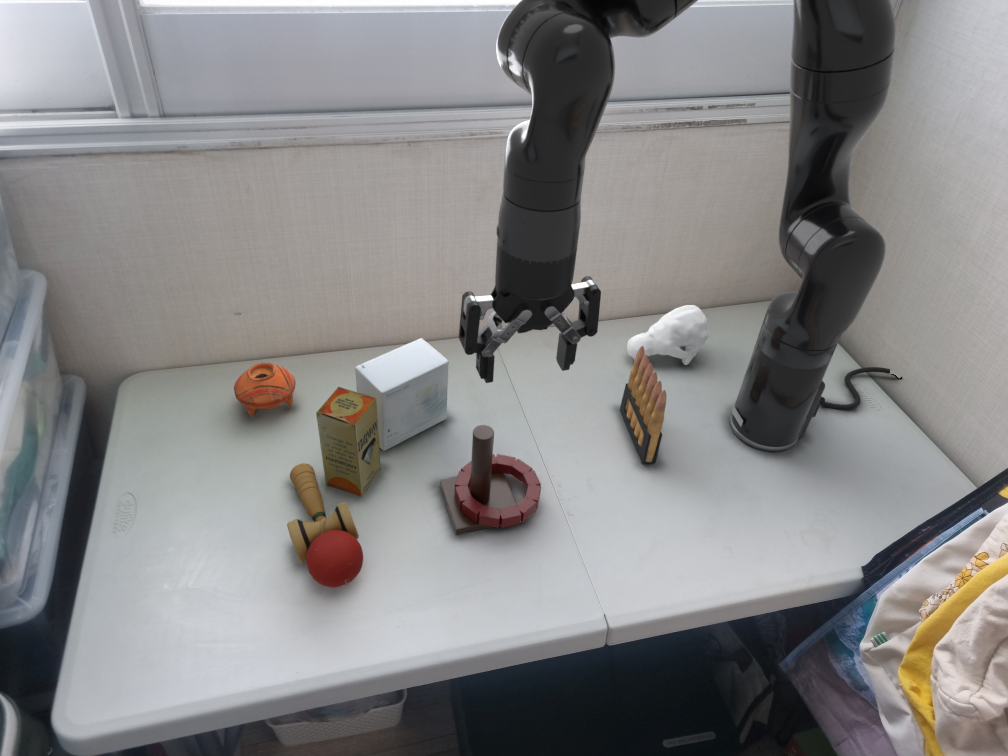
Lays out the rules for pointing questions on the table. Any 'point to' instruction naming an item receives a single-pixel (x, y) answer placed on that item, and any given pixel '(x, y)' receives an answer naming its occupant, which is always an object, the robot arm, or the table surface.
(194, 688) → the table surface
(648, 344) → the white lumpy piece
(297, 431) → the table surface
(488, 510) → the ring
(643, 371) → the ammunition clip
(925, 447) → the table surface
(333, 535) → the kendama
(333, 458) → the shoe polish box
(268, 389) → the pot
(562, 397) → the table surface
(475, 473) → the brown peg stand
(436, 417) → the cosmetics box
